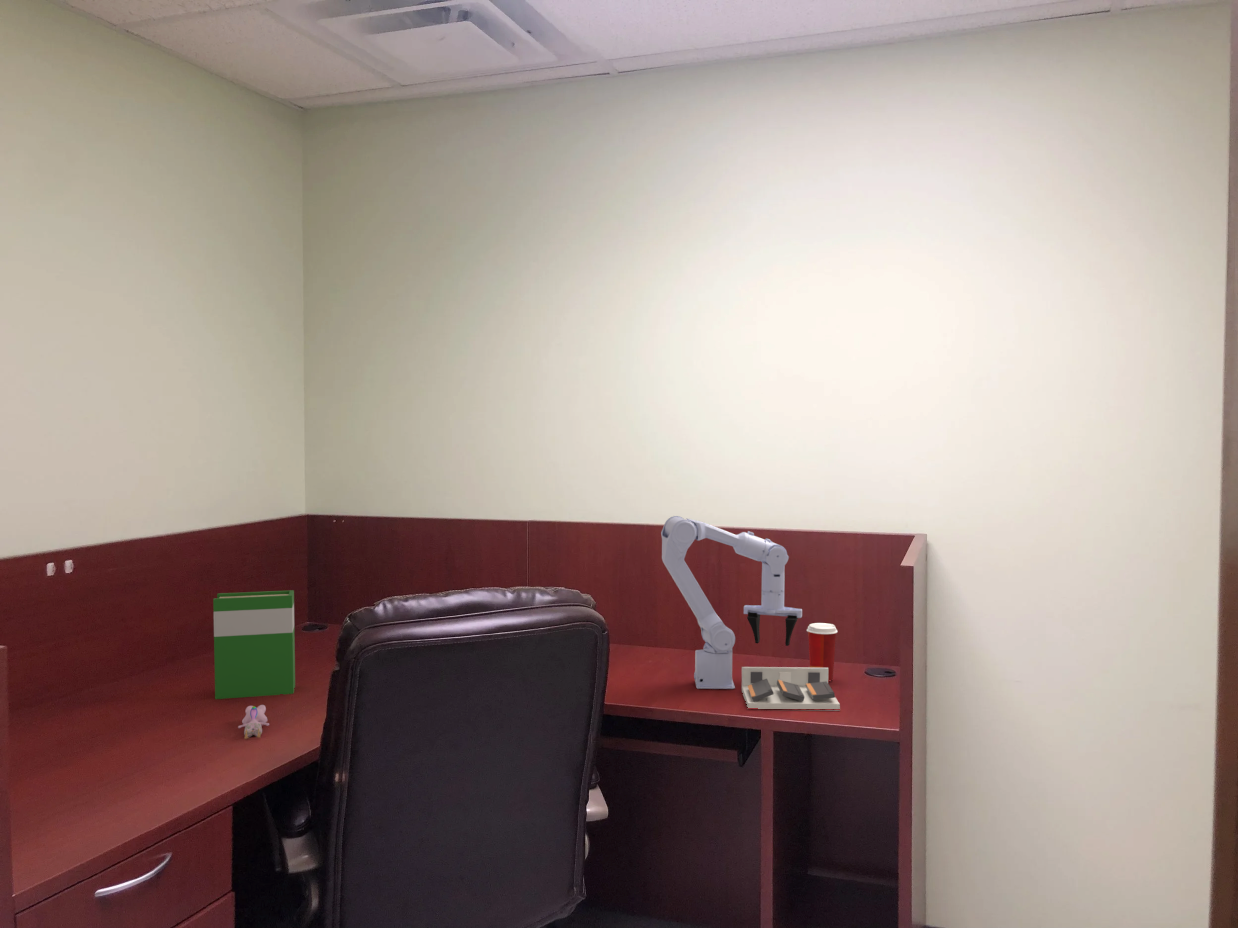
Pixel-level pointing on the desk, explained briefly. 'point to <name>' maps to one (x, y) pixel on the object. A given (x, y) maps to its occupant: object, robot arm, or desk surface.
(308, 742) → the desk surface
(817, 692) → the switch
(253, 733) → the pink and white figure
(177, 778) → the desk surface
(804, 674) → the switch unit
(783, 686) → the switch
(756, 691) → the switch
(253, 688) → the hardback book
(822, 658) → the paper cup
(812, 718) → the desk surface
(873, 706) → the desk surface
